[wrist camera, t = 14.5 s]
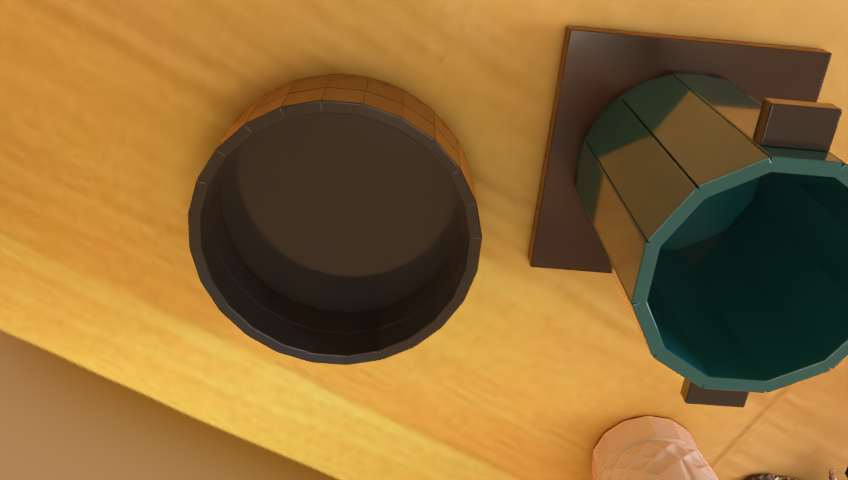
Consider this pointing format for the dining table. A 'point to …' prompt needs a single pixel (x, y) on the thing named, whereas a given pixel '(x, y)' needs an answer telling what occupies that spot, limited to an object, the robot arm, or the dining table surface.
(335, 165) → the pan
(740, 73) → the trivet
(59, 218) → the dining table surface
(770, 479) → the brown figurine
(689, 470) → the white cup
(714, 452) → the dining table surface
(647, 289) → the pot
